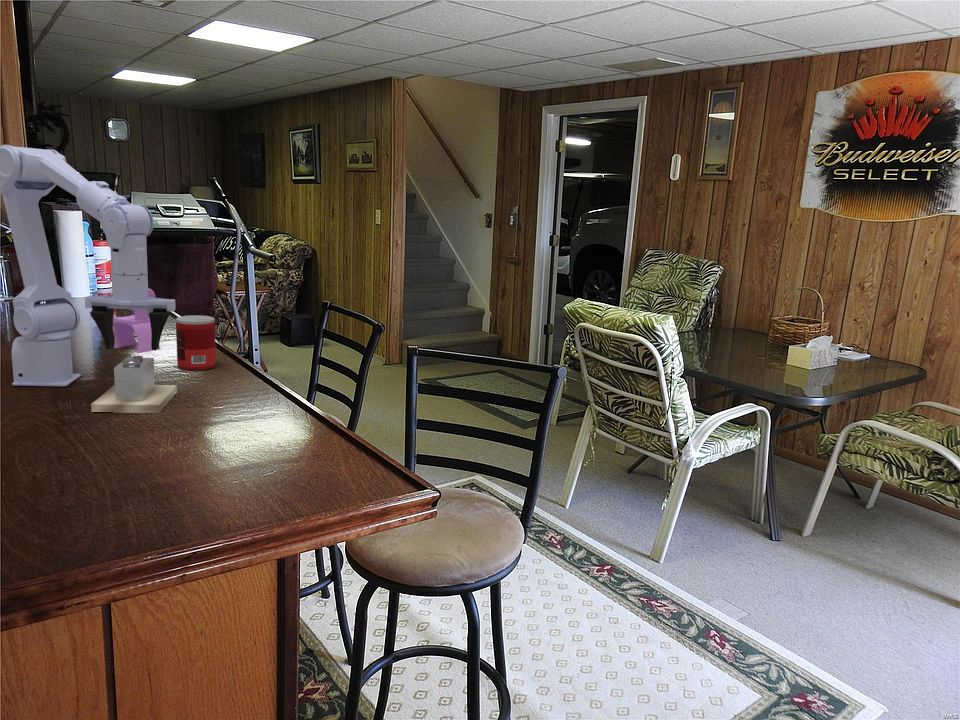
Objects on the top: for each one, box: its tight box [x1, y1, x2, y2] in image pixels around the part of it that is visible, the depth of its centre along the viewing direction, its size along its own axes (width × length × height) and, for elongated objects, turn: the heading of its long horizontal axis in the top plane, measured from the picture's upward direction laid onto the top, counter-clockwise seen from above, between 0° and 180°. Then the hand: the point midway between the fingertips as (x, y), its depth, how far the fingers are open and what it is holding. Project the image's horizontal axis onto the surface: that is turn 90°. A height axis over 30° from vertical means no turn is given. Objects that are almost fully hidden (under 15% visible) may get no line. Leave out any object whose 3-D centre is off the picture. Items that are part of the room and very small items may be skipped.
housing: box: [113, 355, 156, 401], centre depth 126 cm, size 8×4×7 cm, turn 11°
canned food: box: [175, 314, 216, 372], centre depth 153 cm, size 8×8×11 cm
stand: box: [90, 384, 178, 414], centre depth 127 cm, size 11×13×2 cm
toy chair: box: [113, 287, 161, 354], centre depth 165 cm, size 8×9×15 cm
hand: (132, 348), depth 126 cm, fingers open, 7 cm apart
